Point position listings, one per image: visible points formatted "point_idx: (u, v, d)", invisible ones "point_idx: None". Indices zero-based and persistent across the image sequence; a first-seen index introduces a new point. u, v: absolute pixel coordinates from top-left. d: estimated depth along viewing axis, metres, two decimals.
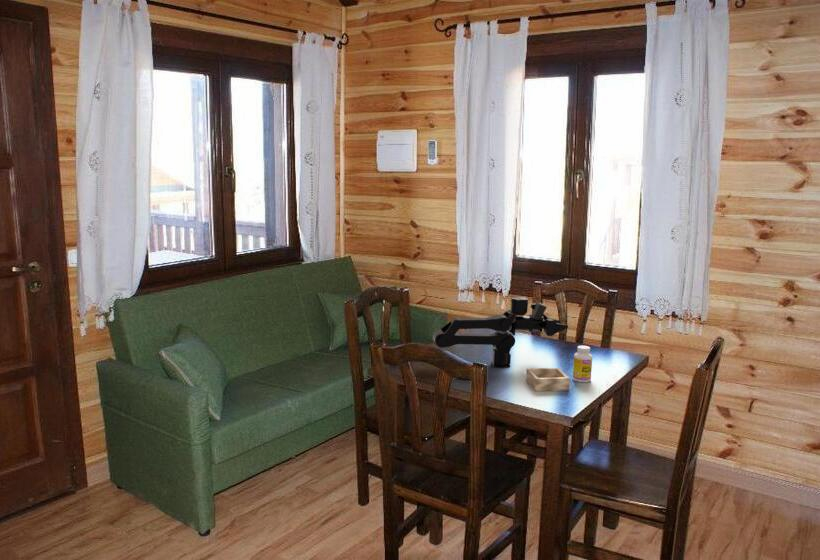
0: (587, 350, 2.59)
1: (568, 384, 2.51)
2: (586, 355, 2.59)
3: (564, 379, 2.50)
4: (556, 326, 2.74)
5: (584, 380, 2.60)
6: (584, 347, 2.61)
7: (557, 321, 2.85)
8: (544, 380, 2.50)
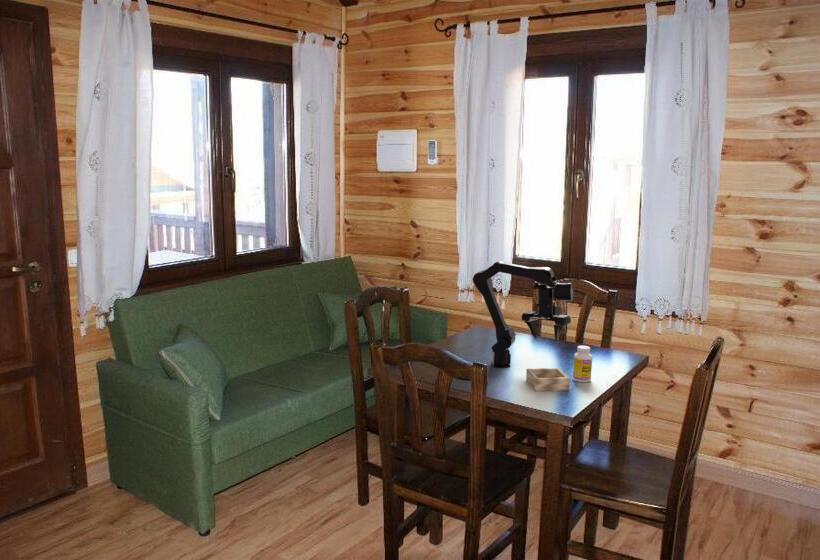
0: (587, 350, 2.59)
1: (568, 384, 2.51)
2: (586, 355, 2.59)
3: (564, 379, 2.50)
4: (559, 328, 2.68)
5: (584, 380, 2.60)
6: (584, 347, 2.61)
7: (536, 334, 2.75)
8: (544, 380, 2.50)
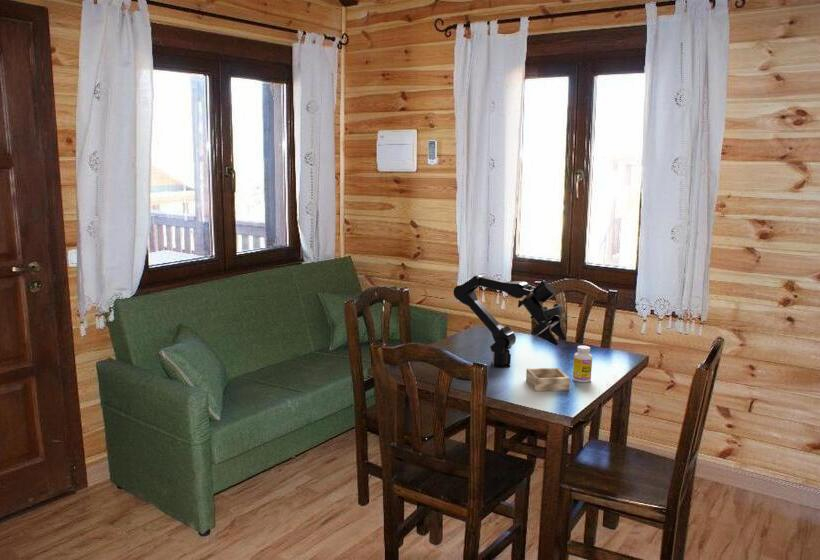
0: (587, 350, 2.59)
1: (568, 384, 2.51)
2: (586, 355, 2.59)
3: (564, 379, 2.50)
4: (548, 334, 2.62)
5: (584, 380, 2.60)
6: (584, 347, 2.61)
7: (563, 336, 2.70)
8: (544, 380, 2.50)
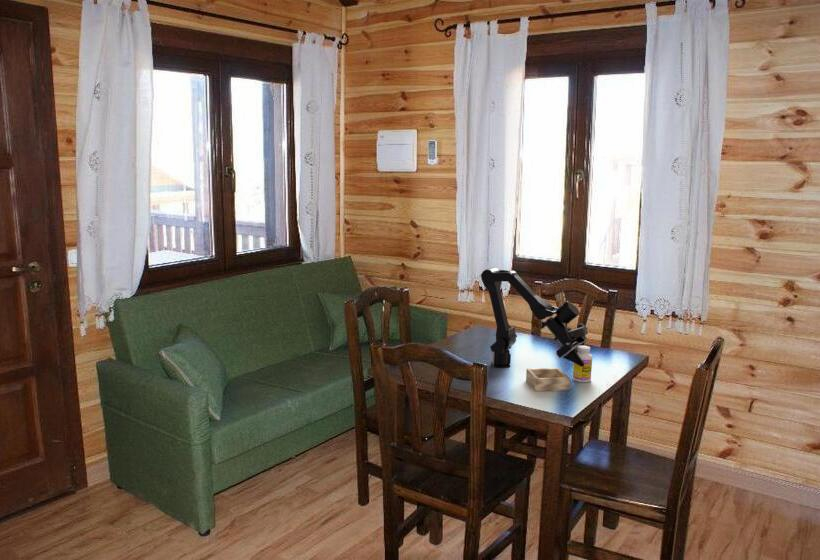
0: (587, 350, 2.59)
1: (568, 384, 2.51)
2: (586, 355, 2.59)
3: (564, 379, 2.50)
4: (573, 355, 2.59)
5: (584, 380, 2.60)
6: (584, 347, 2.61)
7: None
8: (544, 380, 2.50)
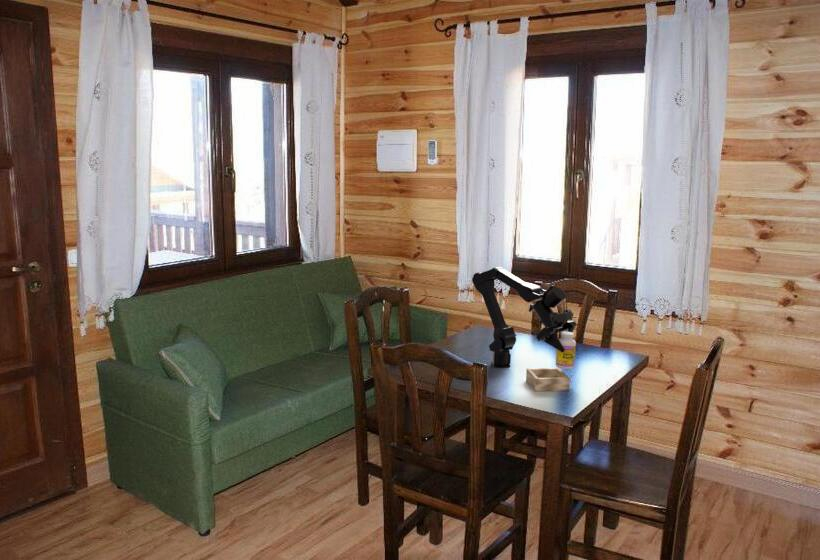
0: (569, 336, 2.53)
1: (568, 384, 2.51)
2: (568, 341, 2.54)
3: (564, 379, 2.50)
4: (554, 340, 2.54)
5: (565, 366, 2.55)
6: (567, 333, 2.55)
7: None
8: (544, 380, 2.50)
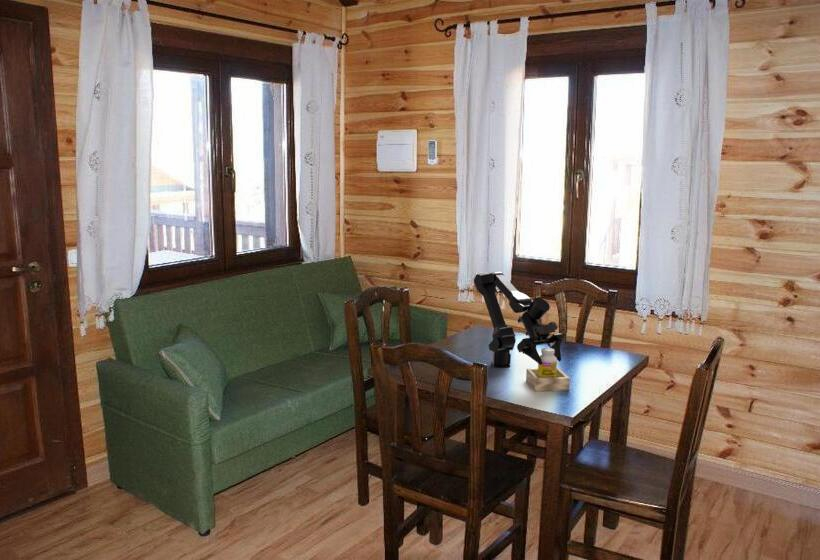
0: (548, 352, 2.52)
1: (568, 384, 2.51)
2: (547, 357, 2.53)
3: (564, 379, 2.50)
4: (533, 352, 2.53)
5: None
6: (548, 349, 2.54)
7: (558, 357, 2.56)
8: (544, 380, 2.50)
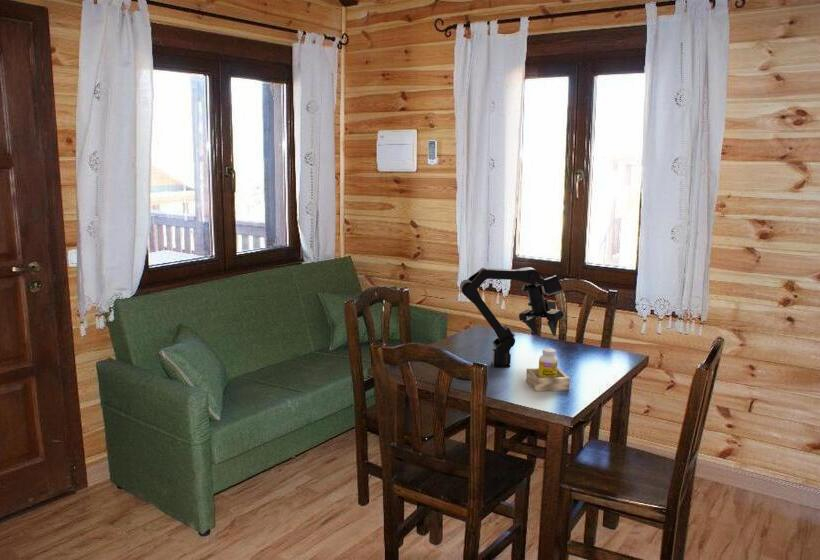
0: (549, 353, 2.52)
1: (568, 384, 2.51)
2: (548, 358, 2.53)
3: (564, 379, 2.50)
4: (554, 323, 2.74)
5: None
6: (549, 350, 2.54)
7: (536, 331, 2.83)
8: (544, 380, 2.50)
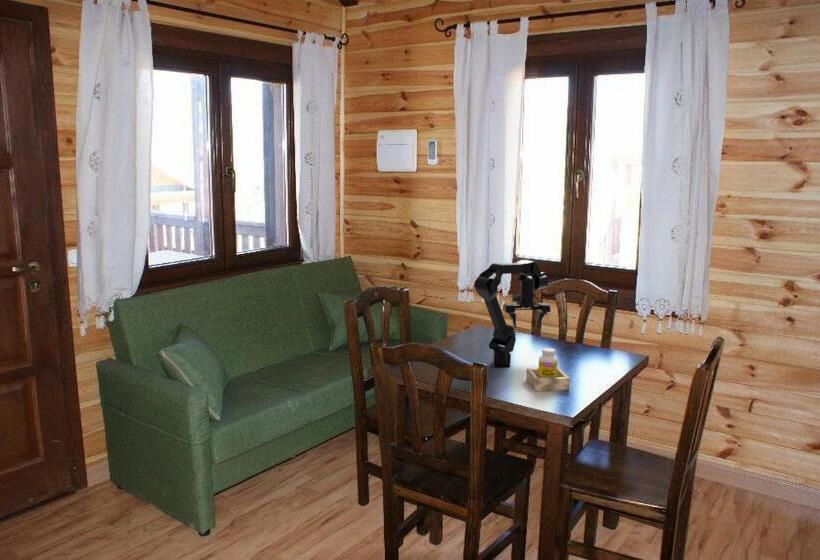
0: (549, 353, 2.52)
1: (568, 384, 2.51)
2: (548, 357, 2.53)
3: (564, 379, 2.50)
4: None
5: None
6: (548, 350, 2.54)
7: None
8: (544, 380, 2.50)
